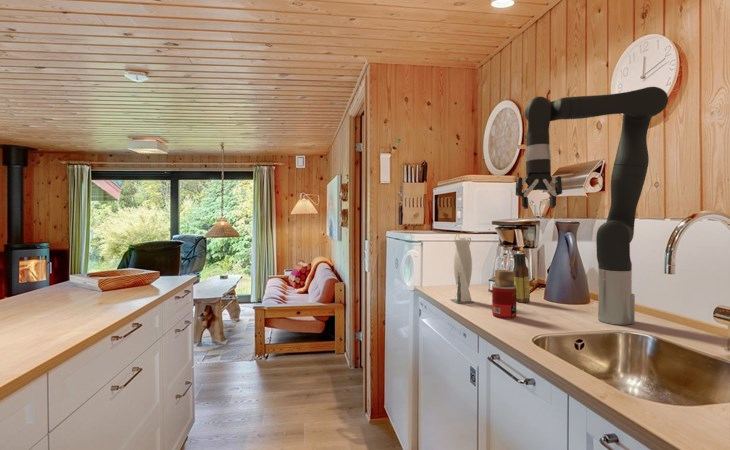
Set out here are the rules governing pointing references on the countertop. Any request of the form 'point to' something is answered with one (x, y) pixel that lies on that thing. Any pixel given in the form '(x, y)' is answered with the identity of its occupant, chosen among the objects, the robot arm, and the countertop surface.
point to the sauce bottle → (521, 278)
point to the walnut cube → (504, 277)
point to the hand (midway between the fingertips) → (538, 208)
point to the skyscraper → (462, 270)
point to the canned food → (504, 301)
